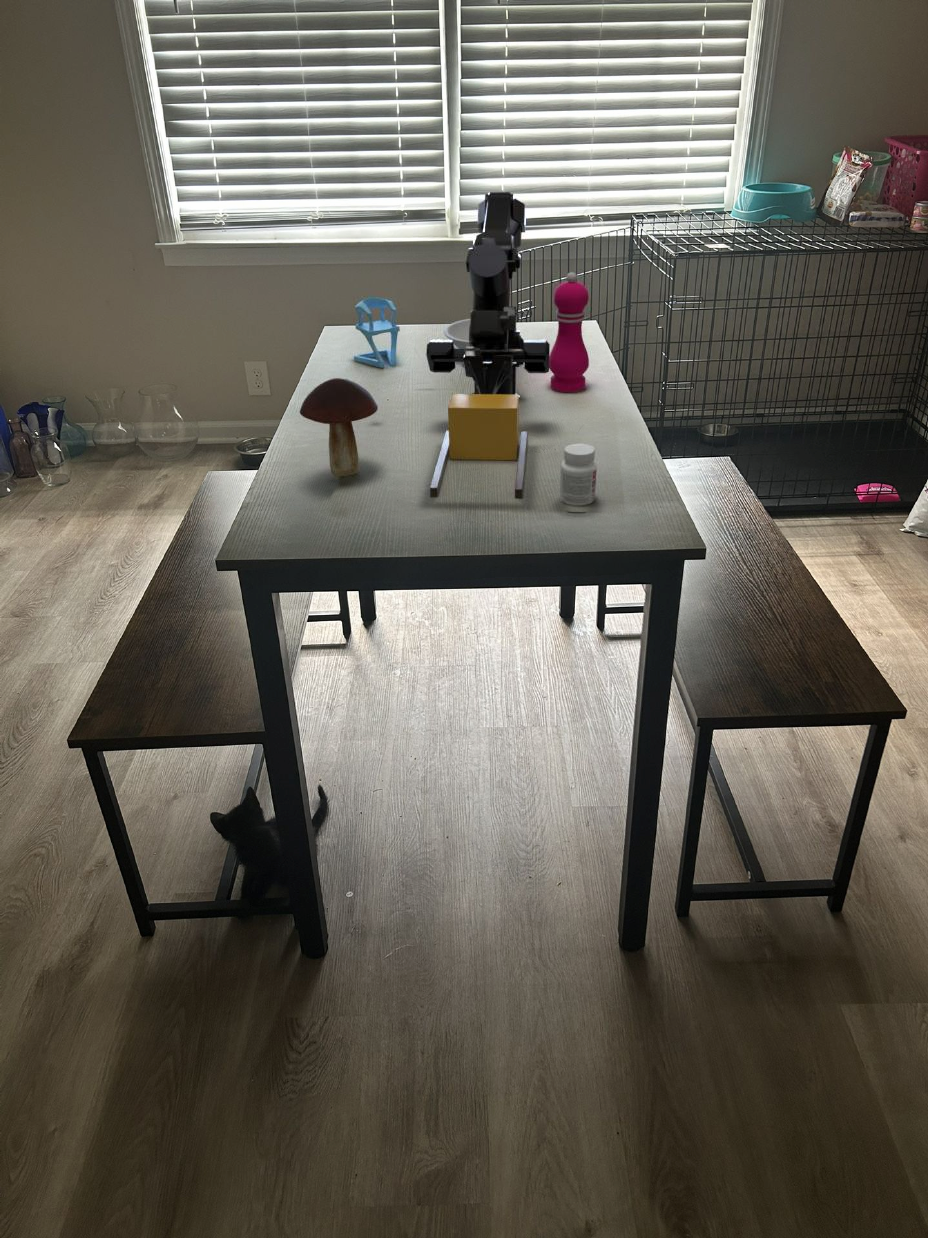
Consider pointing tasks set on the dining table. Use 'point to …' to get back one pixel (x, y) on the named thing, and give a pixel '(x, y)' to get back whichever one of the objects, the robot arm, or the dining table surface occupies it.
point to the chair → (377, 331)
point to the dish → (459, 333)
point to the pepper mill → (569, 337)
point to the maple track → (444, 457)
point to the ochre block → (483, 426)
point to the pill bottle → (578, 475)
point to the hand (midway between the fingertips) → (486, 407)
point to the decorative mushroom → (340, 419)
